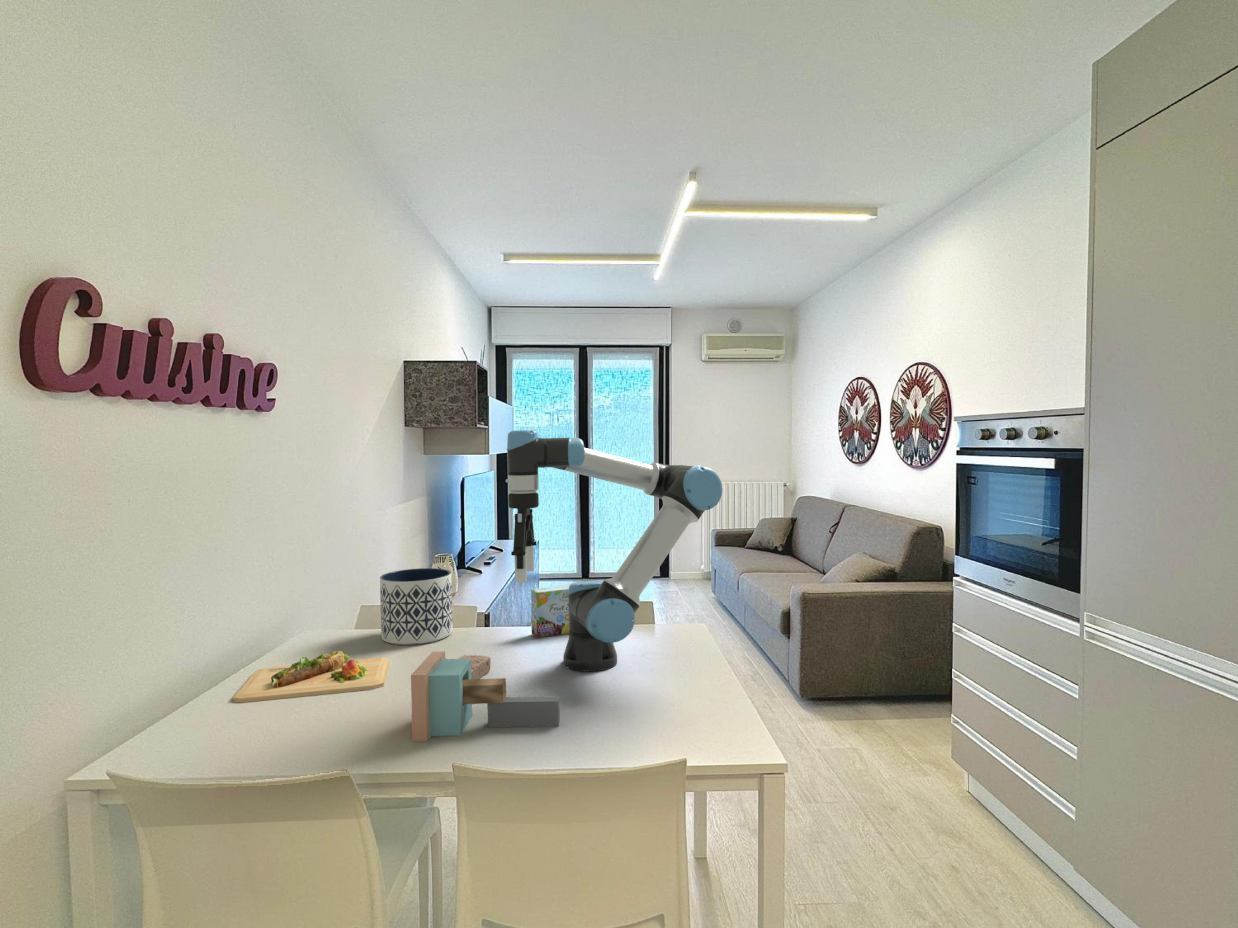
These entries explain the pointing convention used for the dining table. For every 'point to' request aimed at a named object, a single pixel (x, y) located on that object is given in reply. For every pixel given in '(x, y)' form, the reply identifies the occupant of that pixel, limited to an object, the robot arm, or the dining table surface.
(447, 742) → the dining table surface
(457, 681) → the block
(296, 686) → the cutting board
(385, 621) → the planter
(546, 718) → the rail
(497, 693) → the bar
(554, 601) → the snack box
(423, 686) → the base
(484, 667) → the brick
